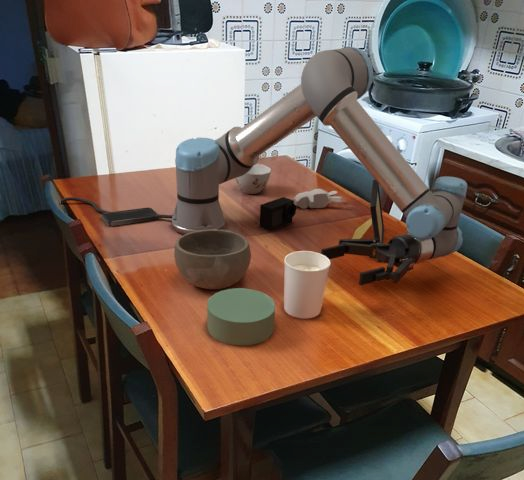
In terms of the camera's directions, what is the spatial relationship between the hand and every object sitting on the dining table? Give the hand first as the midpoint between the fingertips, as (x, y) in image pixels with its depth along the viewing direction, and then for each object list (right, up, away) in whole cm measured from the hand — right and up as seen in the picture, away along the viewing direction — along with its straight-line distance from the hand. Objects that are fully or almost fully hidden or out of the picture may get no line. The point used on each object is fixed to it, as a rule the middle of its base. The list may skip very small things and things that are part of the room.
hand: (340, 266), depth 122 cm
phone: (-56, +20, +39) cm, 71 cm away
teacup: (-22, +36, +66) cm, 78 cm away
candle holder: (-9, -10, +1) cm, 13 cm away
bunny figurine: (0, +28, +56) cm, 63 cm away
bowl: (-29, -2, +10) cm, 31 cm away
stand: (-22, -14, -7) cm, 27 cm away
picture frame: (+12, +12, +33) cm, 37 cm away
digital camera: (-13, +18, +40) cm, 46 cm away
